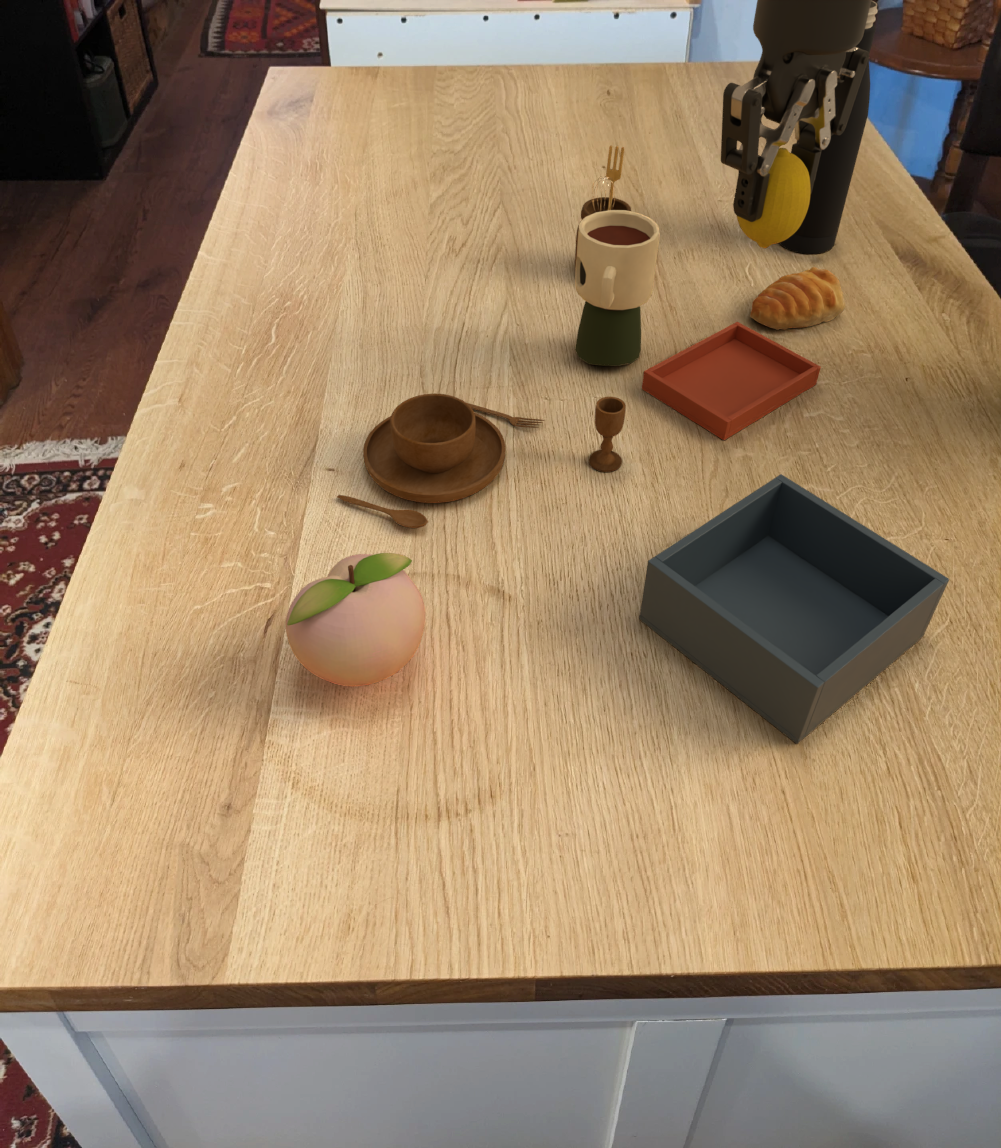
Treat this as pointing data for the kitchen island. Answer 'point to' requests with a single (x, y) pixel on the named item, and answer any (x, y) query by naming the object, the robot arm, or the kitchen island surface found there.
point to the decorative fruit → (358, 620)
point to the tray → (730, 379)
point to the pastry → (799, 300)
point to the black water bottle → (835, 168)
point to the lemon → (781, 201)
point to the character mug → (614, 284)
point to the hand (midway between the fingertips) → (772, 204)
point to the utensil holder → (605, 202)
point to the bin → (789, 603)
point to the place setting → (455, 450)
